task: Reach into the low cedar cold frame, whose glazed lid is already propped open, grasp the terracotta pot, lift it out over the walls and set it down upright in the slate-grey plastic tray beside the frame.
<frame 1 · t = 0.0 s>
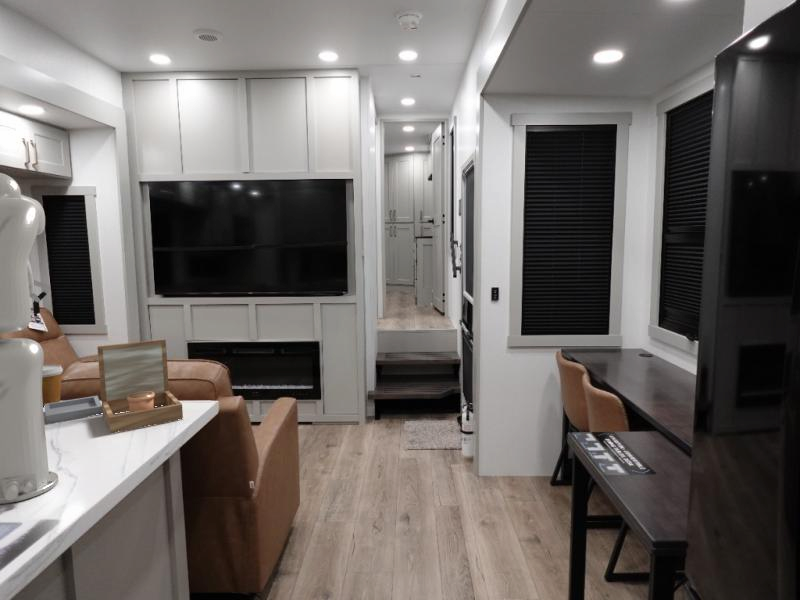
hand: (14, 317, 136), 31 cm above the table, tool pointing down, fingers open, 9 cm apart
terracotta pot: (141, 406, 147), in the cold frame
slate tray: (73, 413, 152), on the table
disposable coffee cup: (48, 404, 161), on the table
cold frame: (142, 417, 147), on the table
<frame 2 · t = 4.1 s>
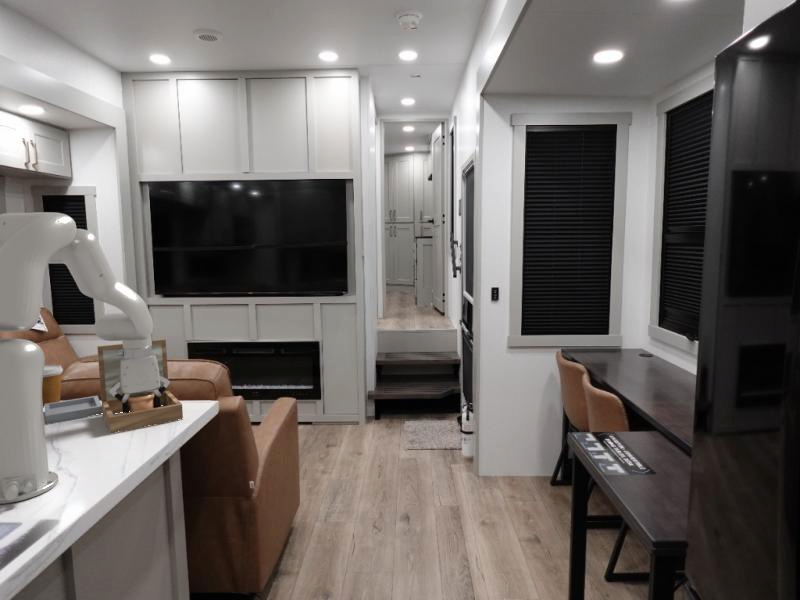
hand: (141, 411, 147), 2 cm above the table, tool pointing down, fingers closed on terracotta pot, 7 cm apart
terracotta pot: (141, 406, 147), in the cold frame, touching gripper
everything else where it was.
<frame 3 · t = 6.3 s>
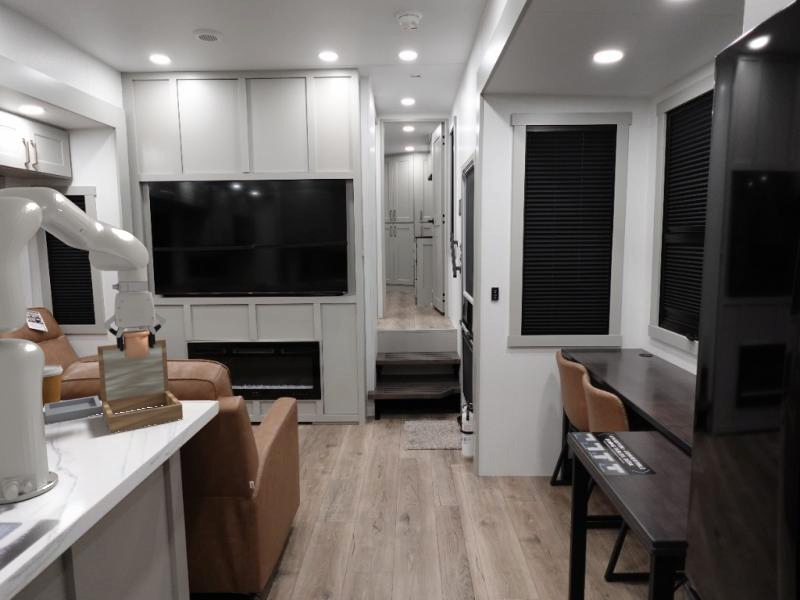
hand: (136, 348, 144), 21 cm above the table, tool pointing down, fingers closed on terracotta pot, 7 cm apart
terracotta pot: (136, 343, 144), point 22 cm above the table, touching gripper
everything else where it was.
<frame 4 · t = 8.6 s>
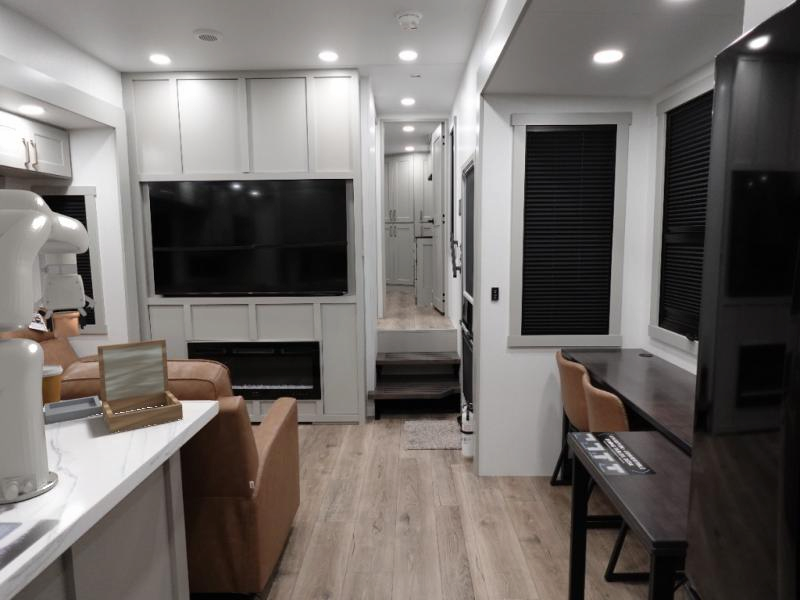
hand: (67, 329, 149), 26 cm above the table, tool pointing down, fingers closed on terracotta pot, 7 cm apart
terracotta pot: (66, 324, 149), point 27 cm above the table, touching gripper
everything else where it was.
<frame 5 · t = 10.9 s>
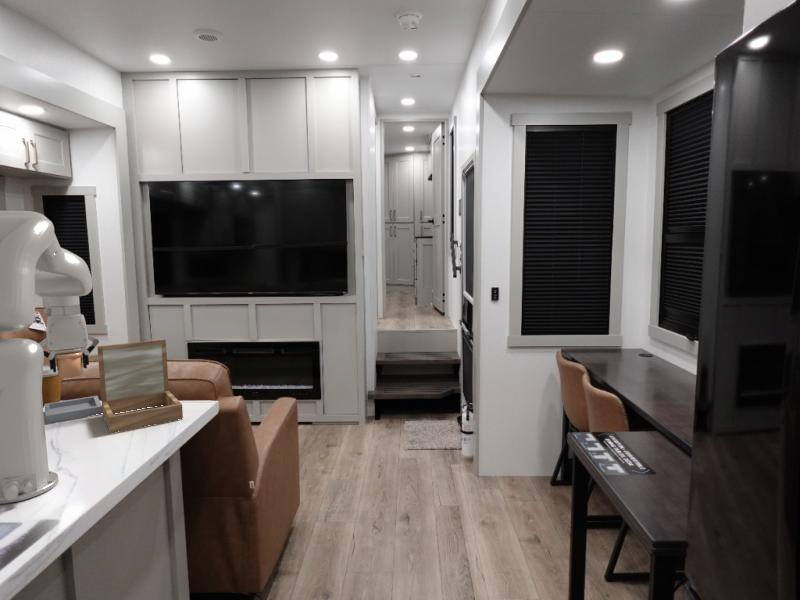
hand: (70, 369, 151), 14 cm above the table, tool pointing down, fingers closed on terracotta pot, 7 cm apart
terracotta pot: (69, 363, 151), point 15 cm above the table, touching gripper
everything else where it was.
when the fingers open (5 cm above the table, at t = 13.2 s): terracotta pot drops 2 cm, resting on slate tray.
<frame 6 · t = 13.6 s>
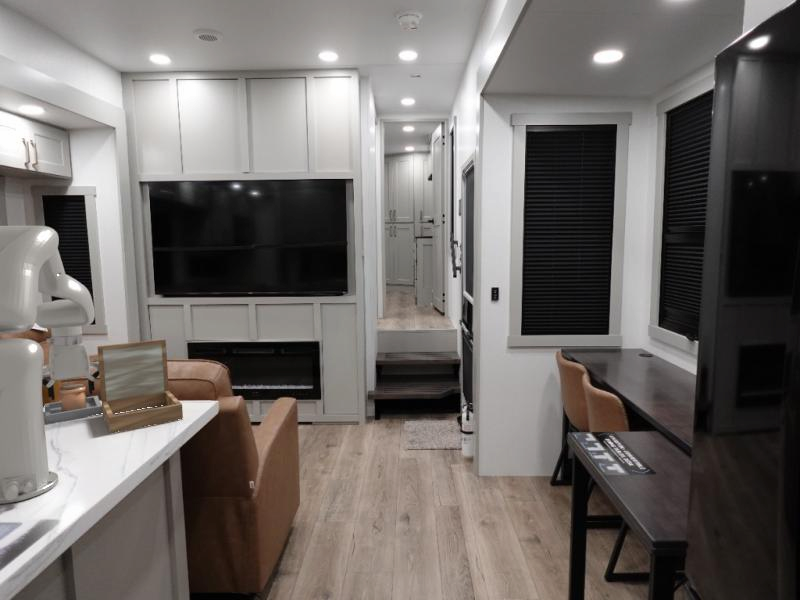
hand: (72, 396, 152), 5 cm above the table, tool pointing down, fingers open, 9 cm apart
terracotta pot: (73, 398, 152), in the slate tray, point 4 cm above the table
everything else where it was.
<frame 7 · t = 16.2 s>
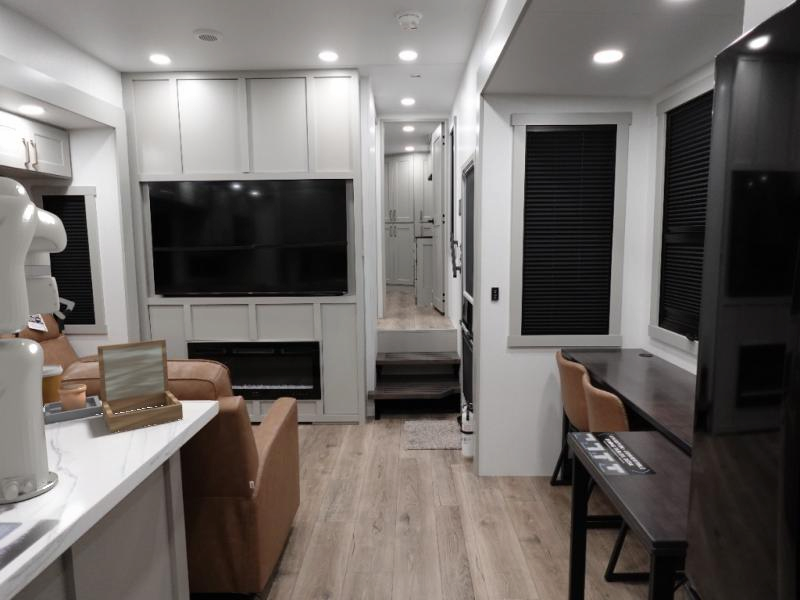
hand: (39, 335, 136), 26 cm above the table, tool pointing down, fingers open, 9 cm apart
nothing on the table moved.
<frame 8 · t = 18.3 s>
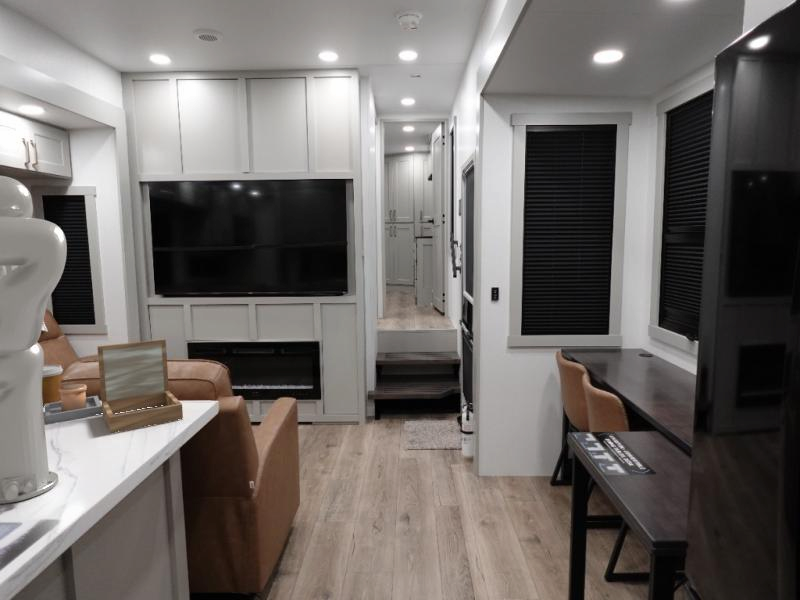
nothing on the table moved.
at the end: terracotta pot inside the target area on the slate tray (0.2 cm from its centre), point 4.6 cm above the slate tray's base; terracotta pot tilted 1°; the gripper is holding nothing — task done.
